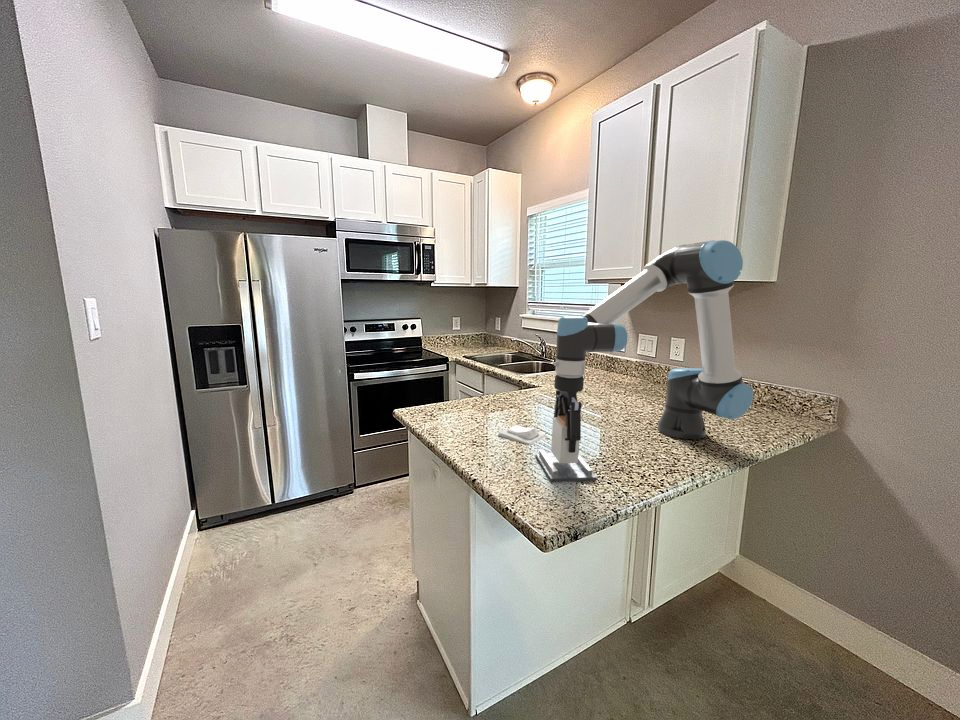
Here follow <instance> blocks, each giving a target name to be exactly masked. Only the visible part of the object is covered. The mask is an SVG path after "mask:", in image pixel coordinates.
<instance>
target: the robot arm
mask: <svg viewBox="0 0 960 720" xmlns="http://www.w3.org/2000/svg"><path fill="white" fill-rule="evenodd" d="M743 265H744V261H743V255H742V252H741V251H740V249H739V248H738V246H737V245H736V244H734V243H733V242H732V241H729V240H725V239H724V240H723V239H721V240H713V239H712V240H708V241H702V242H696V243H688V244H682V245H677V246H675V247H673V248H670V249H669V250H667V251H665V252H664V253H662V254H660V255H658V256H657V257H655V258H654V259H653V260H651V261H650V262H648V263H647V264H645V266H643V267H642V269H641V272H640V273H639V274H637V275H636V276H634V277H632V279H630V280H629V281H627V282H626V283H624V285H622V286H620V287H619V288H617V290H615V291H614V292H612V293H611V294H609V295H608V296H607V297H605V298H604V299H602V300H601V301H600V302H598V303H596V305H594V306H593V307H591V308H590V309H588V310H587V311H586V312H584V313H583V314H581V315H580V316H575V315H574V316H571V315H570V316H568V315H567V316H566V315H565V316H561V317H559V319H558V323H557V330H556V350H555V352H556V354H555V362H554V363H553V366H555V368H554V369H555V371H554V372H555V373H556V374H555V375H554V387H553V388H555V389H556V390H555V403H554V411H553V417H558V416H566V426H567V438H565V441H566V443H565V459H564V462H565V463H575V457H576V443H577V441H581V438H582V437H581V436H582V435H581V434H582V433H581V432H582V431H581V429H582V428H581V427H582V426H581V424H582V420H581V415H582V413H581V411H582V404H583V403H582V402H581V401H578V397H577V396H578V395H577V394H578V393H579V392H582V391H583V390H584V382H585V378H584V375H585V369H586V355H587V353H613V352H621V351H622V350H624V348H626V346H627V344H628V338H629V337H628V332H627V331H628V330H627V329H626V328H625V326H624V325H621V324H617V323H615V322H617V320H620V319H621V318H622V317H623V316H624V315H626V314H627V313H629V312H630V311H631V310H633V309H634V308H636V307H637V306H638V305H640V304H641V303H642V302H644V301H646V299H648V298H649V297H650V296H652V295H653V294H655V293H656V292H660V293H661V292H663V291H664V290H666V289H668V288H669V287H672V286H675V285H681V284H682V285H683V284H685V285H686V287H687V294H689V295H691V296H692V297H693V298H694V306H695V313H696V314H695V315H696V322H697V324H696V325H697V330H698V331H697V332H698V341H699V348H700V349H699V350H700V357H701V358H700V359H701V365H702V366H701V367H702V368H700V367H698V368H696V367H694V368H693V367H683V368H682V367H679V368H672V369H670V370H669V372H668V377H667V382H666V394H665V405H664V410H663V412H662V414H661V416H660V419H659V420H658V423H657V431H658V432H660V433H661V434H664V435H666V436H669V437H670V438H671V437H672V438H675V439H680V438H681V440H688V439H698V440H702V439H701V438H703V439H705V438H706V433H707V429H706V425H705V420H704V415H703V411H704V412H706V413H709V414H712V415H715V416H717V417H719V418H724V419H728V420H736V419H739V418H740V417H742V416H744V415H745V414H746V413H747V412H748V410H749V409H750V408H751V406H752V404H753V400H754V389H753V388H752V386H750V385H749V384H748V383H746V382H744V381H743V374H742V372H741V371H740V370H738V369H737V368H736V362H735V351H734V349H735V348H734V339H733V330H732V329H733V328H732V317H731V309H730V308H731V307H730V296H729V292H730V291H731V290H732V289H733V288H734V286H735V281H736V280H737V279H739V277H740V275H741V271H742V270H743ZM704 437H705V438H704Z"/></svg>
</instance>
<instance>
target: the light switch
mask: <svg viewBox="0 0 960 720" xmlns="http://www.w3.org/2000/svg"><path fill="white" fill-rule="evenodd" d="M497 435H498V436H499V437H502V438H505V439H509V440H512V441H514V442H517V443H522V444H525V445H529V446H531V445H533V444H535V443H537V442H539V441H541V440H543V439H544V438H546V437H547V435H546V434H545V433H542V432H540V431H537V430H536V427H526V426H521V425H519V424H515V425H513V426H511V427H509V428H506V429H504V430H503V431H501V432H498V434H497Z"/></svg>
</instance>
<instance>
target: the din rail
mask: <svg viewBox="0 0 960 720" xmlns="http://www.w3.org/2000/svg"><path fill="white" fill-rule="evenodd" d="M535 458H536V459H537V462H538V463H539V465H540V466H541V468H542V470H543V472H544V473H545V475H546V477H547V478H548V480H549V482H550V483H575V482H596V481H597V476H596V475H595V474H594V473H593V469H592V468H591V467H590V466H589V465H588V463H587V462H586V461H585V460H584V459H583V458H582V456H581V455H580V454H579V456H578V463H559V461H558V460H557V459H556V457H555V456H554V454H553V453H552V452H546V451H545V450H544V449H539V451H538V452H535Z"/></svg>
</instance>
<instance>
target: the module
mask: <svg viewBox="0 0 960 720" xmlns="http://www.w3.org/2000/svg"><path fill="white" fill-rule="evenodd" d="M551 429H552V430H551V448H550V449H551V451H550V453H553V454H554V456H555V457H556V459H557V460H558V461H559V463H565V462H564V459H565V443H566V441H565V438H567V426H566V416H558V417H554V416H553V418H552V427H551ZM580 441H581V440H580ZM580 441H577V443H576V457H575V463H578V456H579V455H580V453H579V452H580V443H581V442H580Z"/></svg>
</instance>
